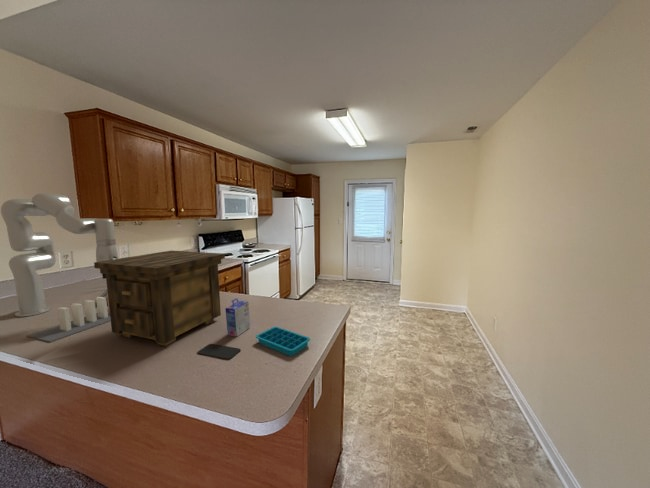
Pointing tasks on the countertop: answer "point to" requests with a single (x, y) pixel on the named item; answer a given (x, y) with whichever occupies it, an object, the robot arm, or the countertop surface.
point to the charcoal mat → (57, 333)
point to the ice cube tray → (283, 340)
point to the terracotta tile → (108, 304)
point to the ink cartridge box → (237, 317)
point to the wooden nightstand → (162, 293)
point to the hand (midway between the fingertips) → (110, 278)
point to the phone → (219, 351)
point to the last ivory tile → (64, 318)
